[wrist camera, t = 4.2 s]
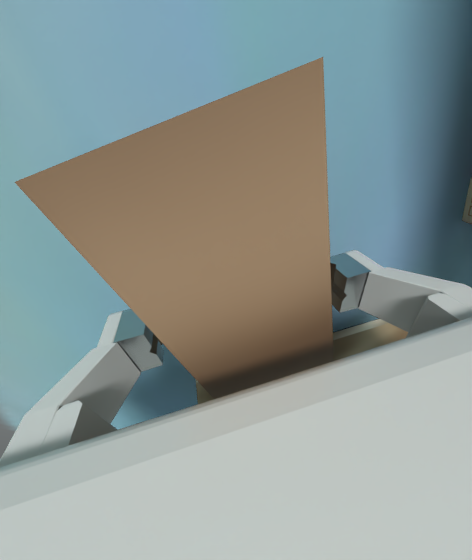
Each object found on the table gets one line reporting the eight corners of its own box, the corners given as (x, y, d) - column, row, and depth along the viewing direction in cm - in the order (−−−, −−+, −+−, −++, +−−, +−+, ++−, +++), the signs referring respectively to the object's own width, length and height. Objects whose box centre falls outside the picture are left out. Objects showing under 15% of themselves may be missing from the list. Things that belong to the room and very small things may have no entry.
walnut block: (118, 149, 7) (15, 182, 3) (226, 106, 7) (323, 57, 3) (229, 342, 15) (256, 444, 10) (282, 320, 15) (335, 412, 10)
